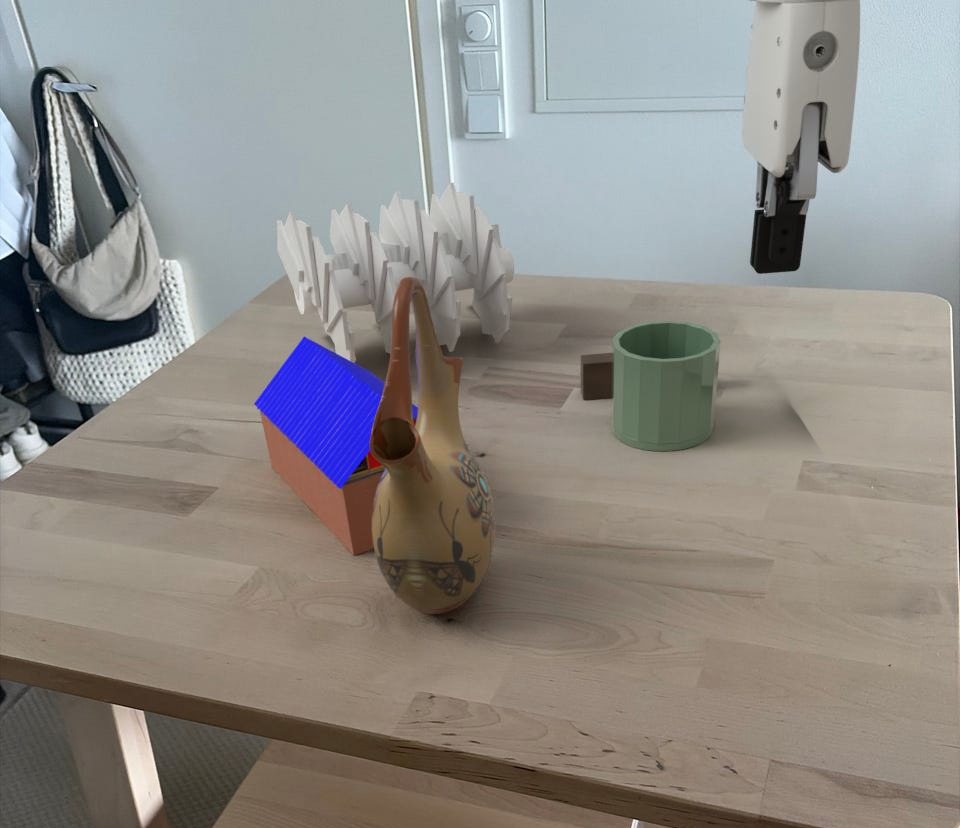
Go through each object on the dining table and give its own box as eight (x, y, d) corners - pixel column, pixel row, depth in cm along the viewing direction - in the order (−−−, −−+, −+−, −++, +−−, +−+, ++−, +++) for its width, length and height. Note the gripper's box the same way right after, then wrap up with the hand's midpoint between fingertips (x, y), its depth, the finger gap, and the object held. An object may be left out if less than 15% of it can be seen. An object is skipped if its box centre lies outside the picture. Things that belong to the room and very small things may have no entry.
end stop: (711, 380, 110) (714, 344, 107) (716, 390, 108) (719, 353, 105) (580, 390, 110) (580, 354, 107) (583, 400, 108) (583, 363, 105)
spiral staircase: (522, 375, 124) (321, 413, 116) (469, 274, 131) (276, 303, 123) (556, 251, 108) (326, 285, 100) (493, 144, 115) (275, 168, 107)
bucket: (704, 404, 105) (710, 317, 100) (720, 448, 97) (728, 357, 92) (607, 409, 106) (608, 323, 100) (616, 453, 98) (618, 363, 92)
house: (351, 558, 86) (330, 431, 79) (267, 467, 100) (242, 352, 93) (475, 514, 91) (465, 390, 84) (377, 433, 105) (362, 321, 98)
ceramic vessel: (477, 664, 74) (448, 326, 59) (357, 656, 76) (298, 325, 61) (515, 542, 87) (499, 237, 71) (412, 537, 88) (374, 238, 73)
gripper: (912, -26, 57) (859, 301, 68) (831, -48, 69) (797, 234, 80) (777, -15, 57) (747, 309, 69) (719, -39, 69) (701, 241, 80)
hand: (774, 268), depth 74 cm, fingers closed
